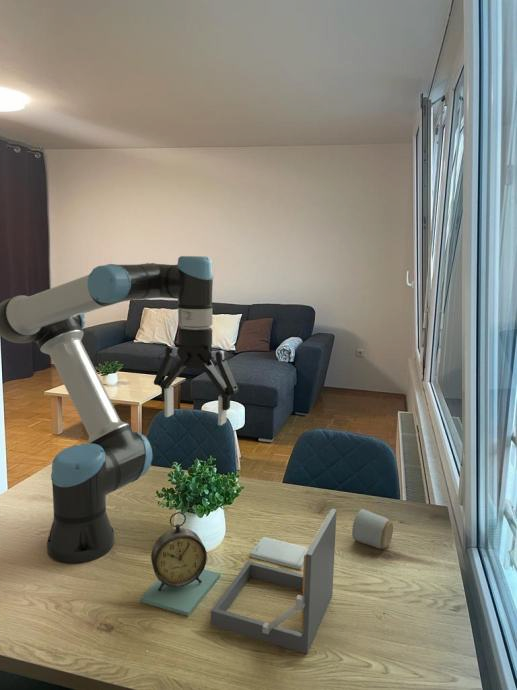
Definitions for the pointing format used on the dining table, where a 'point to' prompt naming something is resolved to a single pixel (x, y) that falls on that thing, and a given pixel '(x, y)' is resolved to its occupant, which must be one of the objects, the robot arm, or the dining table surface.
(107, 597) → the dining table surface
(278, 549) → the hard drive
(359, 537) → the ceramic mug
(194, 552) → the alarm clock
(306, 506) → the dining table surface
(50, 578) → the dining table surface
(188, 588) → the rubber mat
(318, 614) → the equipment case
